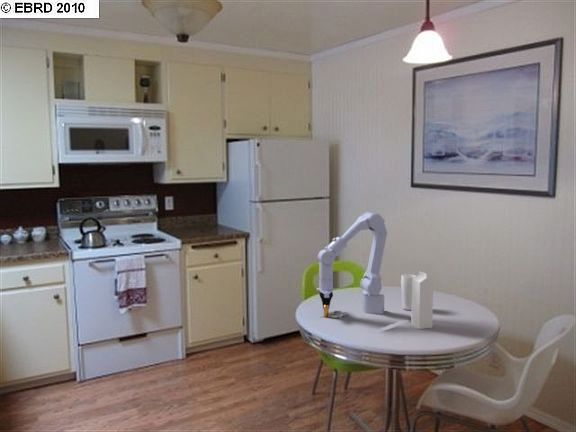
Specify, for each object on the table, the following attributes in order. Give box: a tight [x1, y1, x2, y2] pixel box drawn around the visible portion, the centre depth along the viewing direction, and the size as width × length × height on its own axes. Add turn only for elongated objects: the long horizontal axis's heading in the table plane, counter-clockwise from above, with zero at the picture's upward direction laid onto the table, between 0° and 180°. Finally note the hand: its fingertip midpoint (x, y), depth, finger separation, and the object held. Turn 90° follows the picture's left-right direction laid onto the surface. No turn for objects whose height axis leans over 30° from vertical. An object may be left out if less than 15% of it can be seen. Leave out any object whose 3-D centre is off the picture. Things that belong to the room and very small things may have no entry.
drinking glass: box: [400, 273, 417, 311], centre depth 216 cm, size 7×7×15 cm
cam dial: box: [323, 304, 348, 320], centre depth 204 cm, size 10×8×5 cm
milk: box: [410, 270, 434, 330], centre depth 193 cm, size 6×6×22 cm
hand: (326, 309), depth 206 cm, fingers closed
